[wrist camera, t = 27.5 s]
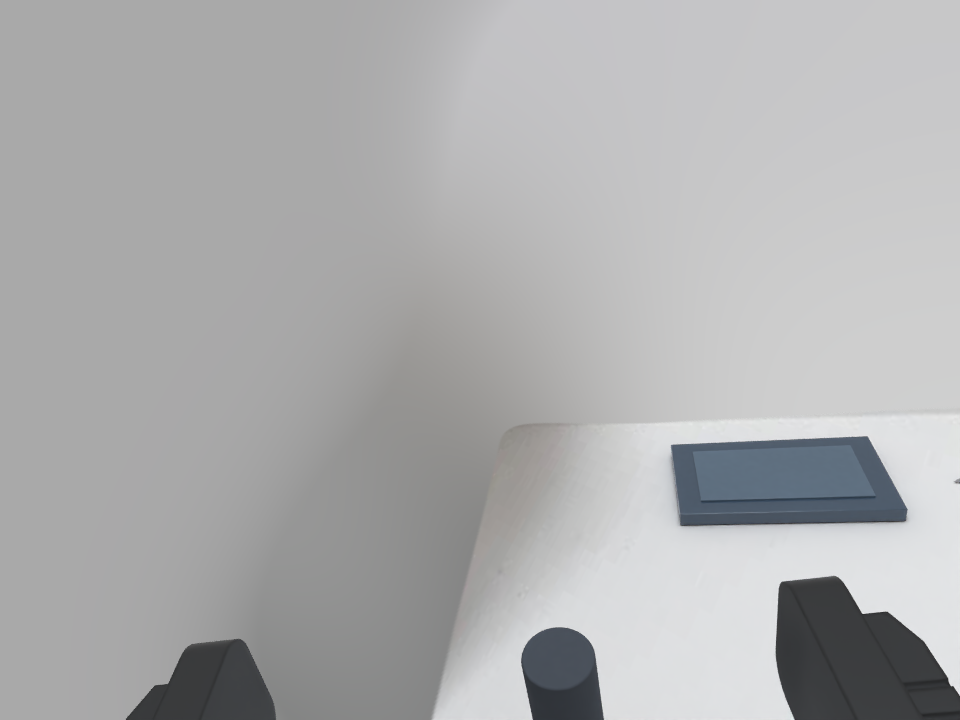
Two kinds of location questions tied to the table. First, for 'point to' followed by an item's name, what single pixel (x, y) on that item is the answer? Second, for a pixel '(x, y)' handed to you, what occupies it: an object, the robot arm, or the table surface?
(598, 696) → the sponge wand
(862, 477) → the plate
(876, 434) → the table surface
